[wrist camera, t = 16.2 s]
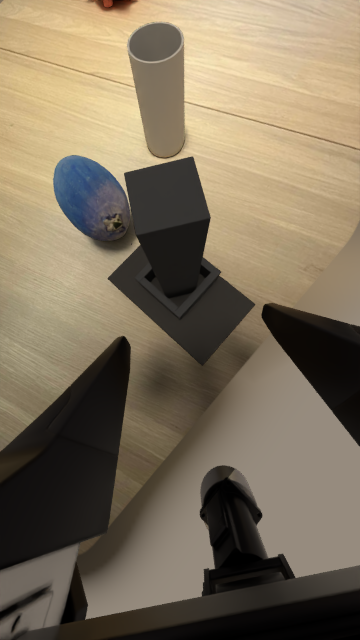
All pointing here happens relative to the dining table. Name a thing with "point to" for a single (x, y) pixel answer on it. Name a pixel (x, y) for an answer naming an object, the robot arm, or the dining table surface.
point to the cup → (159, 84)
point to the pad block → (170, 222)
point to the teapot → (108, 3)
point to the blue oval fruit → (91, 198)
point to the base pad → (185, 305)
